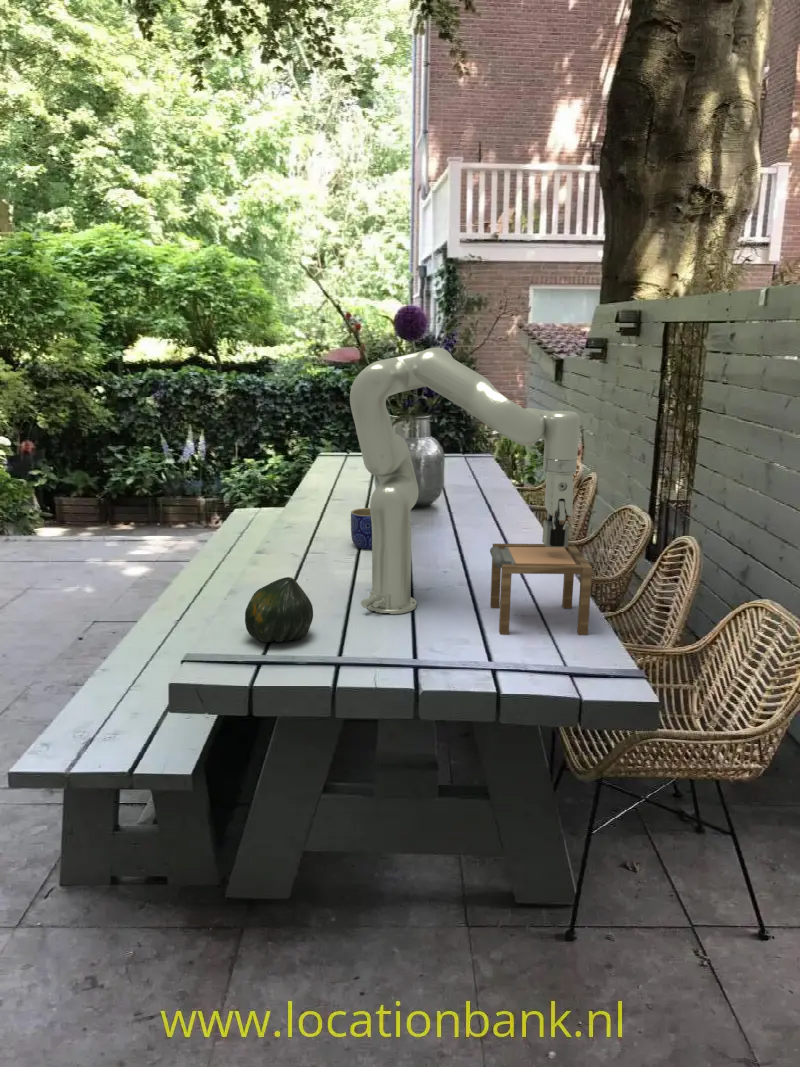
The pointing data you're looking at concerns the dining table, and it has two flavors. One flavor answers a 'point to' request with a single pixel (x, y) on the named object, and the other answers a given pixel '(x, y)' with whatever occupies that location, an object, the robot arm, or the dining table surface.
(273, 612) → the squash
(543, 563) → the trapdoor
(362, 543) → the planter
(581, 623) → the frame
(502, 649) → the dining table surface
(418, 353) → the robot arm
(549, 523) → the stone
